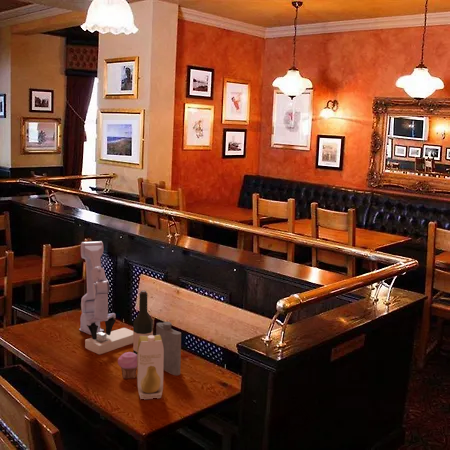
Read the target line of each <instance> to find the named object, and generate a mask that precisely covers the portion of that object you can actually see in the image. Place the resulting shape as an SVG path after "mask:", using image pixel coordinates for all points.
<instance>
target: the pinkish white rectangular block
mask: <svg viewBox="0 0 450 450" xmlns="http://www.w3.org/2000/svg"><path fill="white" fill-rule="evenodd" d="M105 333H106V332H104V331H102V332H98V333H97V339H96V341H98V342H100V343H103V342H106V341H107V334H105Z"/></svg>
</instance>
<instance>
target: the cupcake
mask: <svg viewBox="0 0 450 450" xmlns="http://www.w3.org/2000/svg"><path fill="white" fill-rule="evenodd" d="M117 365H118V366H119V367H120V369H121V375H122V378H123V379H127V380H128V379H135V378H137V354H135V353H133V351H128V352H127V351H126V352H124V353H122V354H121V355H120V356H119V357H118V359H117Z"/></svg>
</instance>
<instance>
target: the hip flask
mask: <svg viewBox="0 0 450 450" xmlns="http://www.w3.org/2000/svg"><path fill="white" fill-rule="evenodd" d="M155 325H156V326H155V327H156V328H155V329H156V330H155V332H156V333H155V335H160V336H161V339H162V341H163V348H164V362H163V371H164V372H166V373H169V374H170V375H173V376H180V375H181V359H182V356H181V353H182V352H181V351H182V332H181V331H177V330H175V329H173V328H172V325H173V324H172V322H171V321H164V322H156V324H155Z"/></svg>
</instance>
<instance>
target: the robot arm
mask: <svg viewBox="0 0 450 450" xmlns="http://www.w3.org/2000/svg"><path fill="white" fill-rule="evenodd" d="M103 254H104V243H103V241H102V240H99V241H81V243H80V257H81V259H84V261H85V269H86V270H85V272H86V274H85V275H86V293H85V294H84V295H83V296H82V297H81V299H80V300H81V302H80V308H81V315H80V321H79V322H80V328H78V330H79V331H81V332H82V333H86V334H87V335H91V338H92V339H94V340H96V339H97V333H98V332H105V333H106V334H107V335H110V334H111V332H112V331H113V330H112V329H113V327H114V325H115V323H116V315H117V314H116V313H115V312H112V313H109V304H108V303H109V300H108V299H109V297H108V296H109V293H110V283H109V280H108V278H107V277H106V273H105V269H104V268H103V267H102V263H101V262H102V261H101V257H102V256H103ZM101 322H104V323H105V330H104V329H103V328H101Z"/></svg>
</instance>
